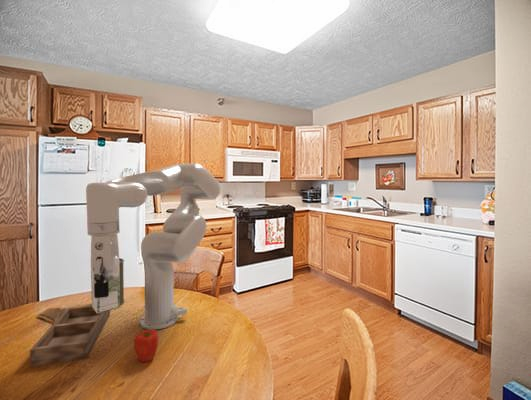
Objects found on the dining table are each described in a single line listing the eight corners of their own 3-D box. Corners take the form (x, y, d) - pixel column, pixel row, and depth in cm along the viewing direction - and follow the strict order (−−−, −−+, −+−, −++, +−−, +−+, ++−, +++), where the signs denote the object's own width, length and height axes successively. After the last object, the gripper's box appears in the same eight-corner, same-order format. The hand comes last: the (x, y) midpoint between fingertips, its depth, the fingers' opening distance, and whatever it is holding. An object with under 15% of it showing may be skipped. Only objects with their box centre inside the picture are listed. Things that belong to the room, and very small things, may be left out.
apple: (140, 351, 79) (140, 326, 78) (161, 351, 79) (161, 326, 78) (129, 365, 73) (129, 338, 72) (152, 366, 72) (152, 339, 72)
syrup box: (114, 301, 80) (112, 252, 79) (120, 308, 76) (119, 256, 75) (91, 307, 76) (89, 256, 75) (97, 314, 72) (95, 261, 71)
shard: (54, 325, 93) (54, 320, 93) (27, 328, 91) (27, 322, 91) (67, 310, 103) (67, 306, 103) (43, 313, 101) (43, 308, 101)
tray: (109, 315, 99) (109, 303, 99) (87, 358, 75) (87, 342, 75) (68, 320, 95) (67, 307, 95) (30, 366, 71) (30, 350, 71)
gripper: (111, 233, 67) (113, 303, 68) (125, 222, 83) (126, 278, 85) (76, 234, 65) (79, 306, 66) (97, 223, 81) (99, 281, 83)
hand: (105, 290), depth 75 cm, fingers closed on syrup box, 7 cm apart
